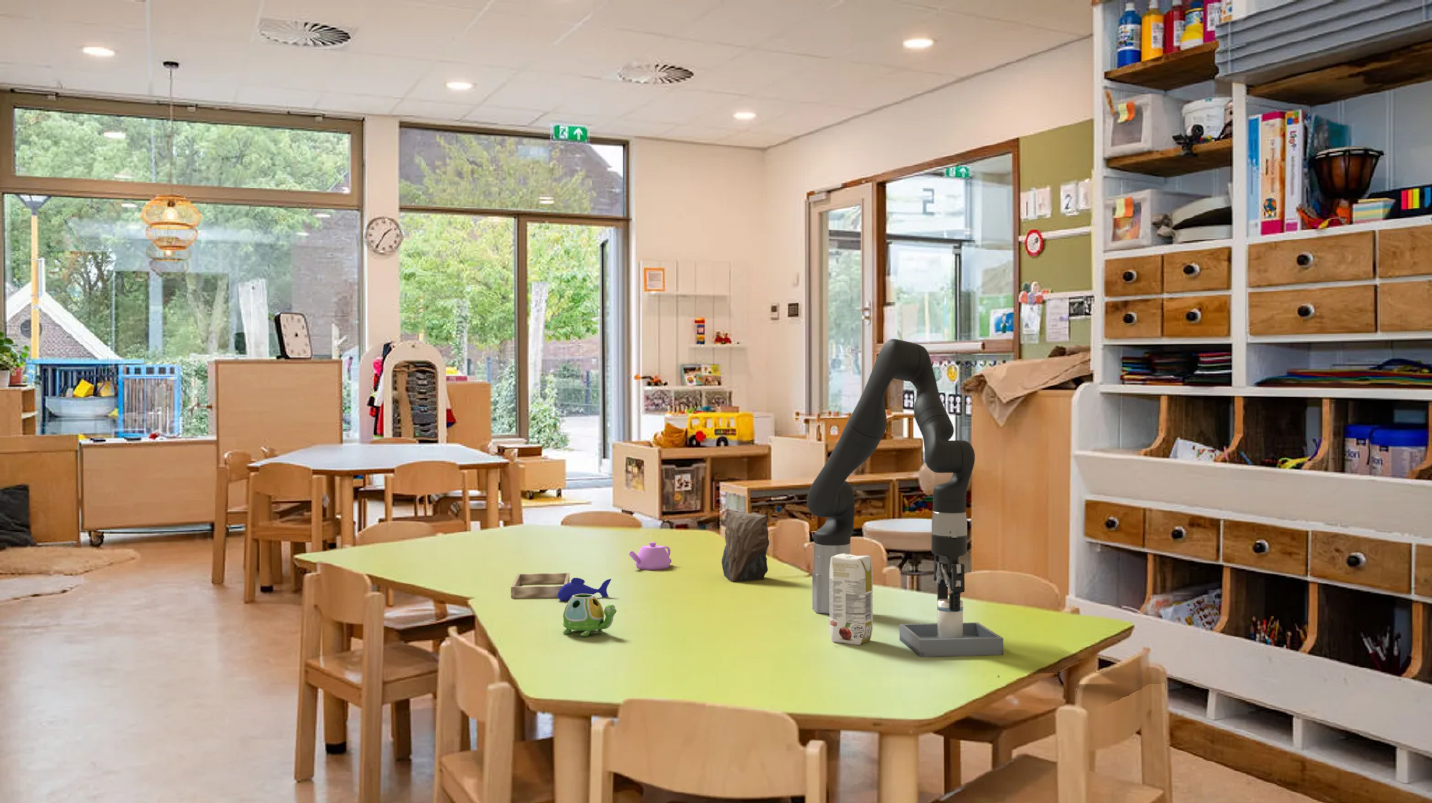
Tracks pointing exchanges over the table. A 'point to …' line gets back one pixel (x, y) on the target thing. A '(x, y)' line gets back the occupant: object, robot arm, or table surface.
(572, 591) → the fish toy
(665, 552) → the teapot
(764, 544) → the bark-textured rock
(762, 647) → the table surface
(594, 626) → the turtle holder
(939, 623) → the cup
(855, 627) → the juice carton
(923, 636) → the tray
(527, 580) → the toy crate
